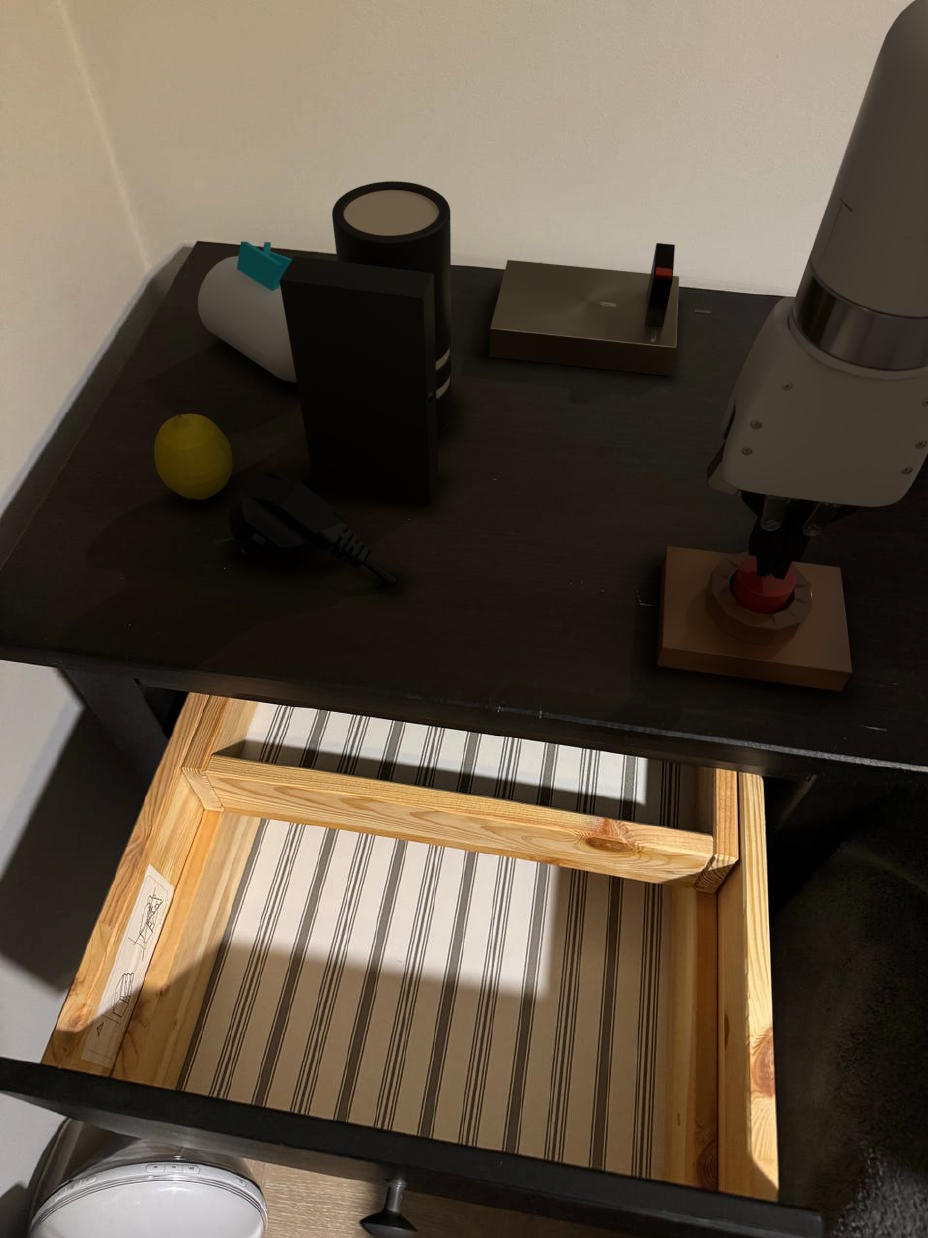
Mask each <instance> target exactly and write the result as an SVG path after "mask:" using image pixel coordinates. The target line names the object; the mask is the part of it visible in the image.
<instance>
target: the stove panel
mask: <svg viewBox="0 0 928 1238" xmlns="http://www.w3.org/2000/svg"><path fill="white" fill-rule="evenodd" d="M650 275H651V273H648V272H637V271H628V270H627V271H626V270H617V269H606V268H598V267H597V268H596V267H587V266H586V267H585V266H576V265H567V264H554V263H546V262H535V261H534V262H533V261H526V260H525V261H523V260H516V259H515V260H513V259H507V260H506V265H505V269H504V272H503V276H502V281H501V284H500V288H499V291H498V292H499V293H498V296H497V300H496V304H495V307H494V312H493V316H492V320H491V323H490V327H489V349H488V350H489V353H488V356H489V358H496V359H507V360H515V361H525V362H533V363H544V364H552V365H561V366H570V367H582V368H589V369H598V370H600V369H601V370H607V371H608V370H609V371H617V372H625V373H637V374H646V375H654V376H663V377H670V376H671V373H672V370H673V365H674V360H675V356H676V351H677V340H678V319H679V315H678V313H679V292H680V290H679V289H680V276H679V275H673V282H672V286H671V291H670V296H669V301H668V306H667V310H666V315H665V320H664V325H663V326H655V325H646V324H645V316H646V305H647V294H648V286H649V281H650ZM694 314H699V315H701V314H702V315H711V314H712V310H706V309H697V308H695V309H694Z"/></svg>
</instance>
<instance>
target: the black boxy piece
mask: <svg viewBox="0 0 928 1238" xmlns="http://www.w3.org/2000/svg"><path fill="white" fill-rule="evenodd" d="M675 251H676V244H672V243H662V242H656V243H655V248H654V254H653V259H652V264H651V271H650V274H651V275H650V281H649V286H648V294H647V305H646V316H645V324H646V325H655V326H663V325H664V320H665V315H666V310H667V306H668V301H669V296H670V291H671V286H672V282H673V276H674V266H675Z"/></svg>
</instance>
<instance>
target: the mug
mask: <svg viewBox="0 0 928 1238" xmlns="http://www.w3.org/2000/svg"><path fill="white" fill-rule="evenodd" d="M271 244H272V242H271V241H264V242H263V248H262V250H261V249H260V248H258V247H256V246H255V245H253V244H252V243H250V242H248V241H243V240H242V241H240V245H239V251H238V255H236V256H230V257H226V258H224V259H223V260H220V261H219V262H217V263H216V264H215V265H214V266H213V267H212V268H211V269H210V270H209V271H208V272H207V274H206V276H205V277H204V279H203V280H202V282H201V285H200V288H199V292H198V296H197V311H198V315H199V318H200V320H201V323H202V324H203V325H204V326H205V328H206V329H207V330H208V331H209V332H211V333H212V334H213V335H215V336H216V337H218V338H219V339H221V340H222V341H224V342H226V344H228V345H229V346H231V347H232V348H233V349H235V350H237V351H238V352H240V353H241V354H243V355H244V356H246V357H247V358H248V359H250V360H251V361H253V362H254V363H256V364H257V365H259V366H260V367H261V368H263V369H264V370H266V371H268V372H269V373H270V374H272V375H273V376H274V377H276V378H278V379H280V380H282V381H286V382H290V383H297V381H296V375H295V369H294V364H293V358H292V352H291V346H290V340H289V334H288V329H287V323H286V317H285V311H284V305H283V299H282V294H281V288H280V282H279V280H280V279H281V277H282V275H283V274H284V272H285V270H286V269H287V267H288V265H289V264H290V262H291V260H292V259H293V258H290V257H287V256H284V255H281V254H278V253H276V252H273V251H271V249H272V246H271Z"/></svg>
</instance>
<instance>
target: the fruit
mask: <svg viewBox="0 0 928 1238" xmlns="http://www.w3.org/2000/svg"><path fill="white" fill-rule="evenodd" d="M153 451H154V453H153V456H154V458H153V459H154V464H155V469H156V472H157V473H158V476H159V477H160V478H161V480H162V481H163V482H164V484H165V485H166V487H168V488H169V489H170V490H171V491H173V492H175V493H176V494H177V495H179V496H181V497H183V498H186V499H191V500H199V501H204V500H206V499H208V498H212V497H214V496H215V495H217V494H219V493H220V492H221V491H222V490H223V489H224V488H225V487H226V485H227V484H228V482H229V481H230V478H231V476H232V473H233V468H234V459H233V457H234V456H233V450H232V447H231V444H230V442H229V439H228V438H227V437H226V435H225V433H224V432H223V431H222V430H221V429H220V428H219V427H218V426H217V424H216V423H215V422H213V421H212V420H211V419H209V418H208V417H206V416H204V415H201V414H198V413H184V414H183V413H178V414H176V415H175V416H173V417H171V418H169V419H168V420H166V421H165V422H164V423H163V424H162V425H161V426H160V428H159V430H158V432H157V434H156V436H155V440H154V450H153Z"/></svg>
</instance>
